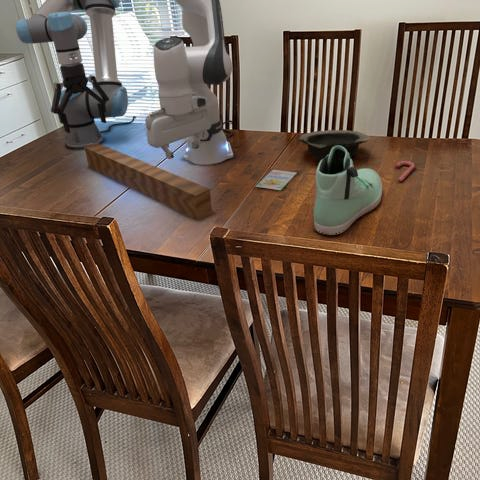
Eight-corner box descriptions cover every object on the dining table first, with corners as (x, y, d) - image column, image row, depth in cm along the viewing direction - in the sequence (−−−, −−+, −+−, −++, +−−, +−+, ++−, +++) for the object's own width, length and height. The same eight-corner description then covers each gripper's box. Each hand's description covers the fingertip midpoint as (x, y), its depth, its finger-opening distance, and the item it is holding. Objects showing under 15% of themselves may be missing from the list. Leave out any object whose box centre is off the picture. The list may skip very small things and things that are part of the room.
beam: (88, 167, 181) (83, 147, 176) (102, 162, 184) (97, 142, 180) (198, 220, 139) (194, 195, 135) (212, 213, 142) (209, 188, 138)
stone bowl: (326, 174, 159) (325, 147, 154) (286, 157, 179) (284, 133, 175) (384, 156, 168) (385, 130, 163) (340, 142, 188) (339, 118, 184)
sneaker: (389, 187, 148) (396, 123, 138) (356, 242, 123) (361, 168, 112) (346, 181, 154) (350, 119, 144) (306, 232, 129) (307, 161, 118)
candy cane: (383, 179, 154) (383, 175, 153) (399, 163, 164) (400, 158, 163) (401, 183, 151) (402, 178, 150) (417, 166, 161) (417, 161, 160)
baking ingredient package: (255, 185, 155) (273, 168, 166) (255, 187, 155) (273, 170, 166) (280, 189, 151) (297, 171, 163) (280, 190, 151) (297, 173, 163)
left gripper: (37, 72, 149) (56, 138, 160) (110, 58, 162) (122, 120, 173) (29, 70, 154) (47, 134, 165) (100, 56, 167) (113, 116, 178)
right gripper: (151, 116, 120) (160, 167, 128) (212, 97, 132) (217, 144, 139) (137, 112, 124) (146, 161, 132) (198, 93, 136) (203, 140, 143)
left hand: (86, 127), depth 169 cm, fingers open, 13 cm apart
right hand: (183, 153), depth 136 cm, fingers open, 8 cm apart
